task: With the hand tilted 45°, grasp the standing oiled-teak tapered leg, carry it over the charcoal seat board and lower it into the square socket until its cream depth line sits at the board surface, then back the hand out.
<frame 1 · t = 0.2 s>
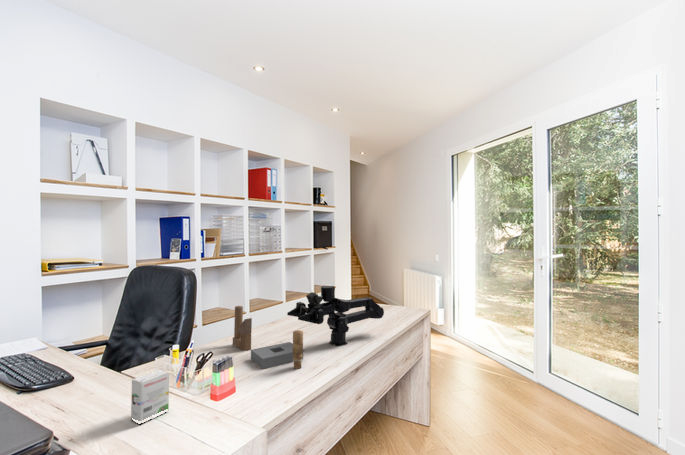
hand: (292, 316, 149), 17 cm above the table, tool horizontal, fingers open, 9 cm apart
ink box: (150, 417, 99), on the table
wooden block: (241, 347, 157), on the table
teak leg: (297, 367, 136), on the table
seat board: (277, 359, 144), on the table
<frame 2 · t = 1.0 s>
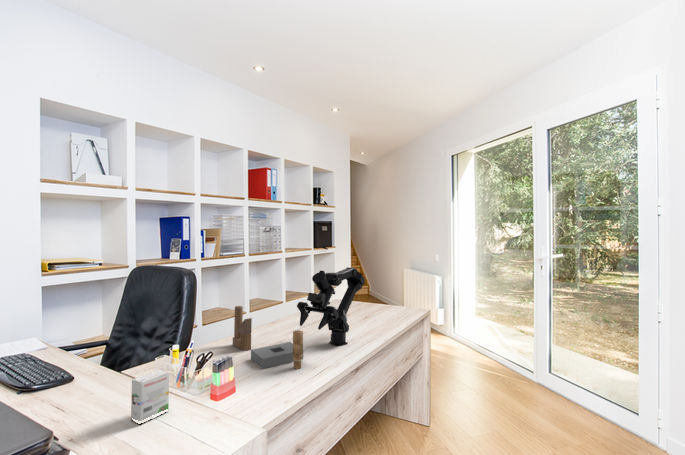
hand: (309, 327, 143), 14 cm above the table, tool tilted 45°, fingers open, 9 cm apart
nothing on the table moved.
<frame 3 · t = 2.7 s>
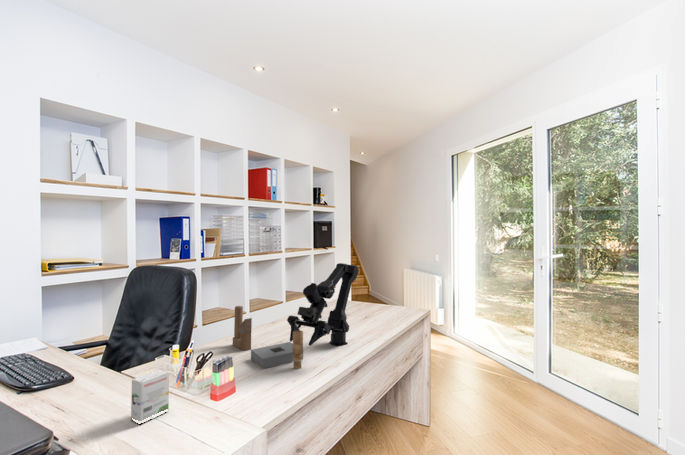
hand: (299, 343, 137), 9 cm above the table, tool tilted 45°, fingers open, 9 cm apart
nothing on the table moved.
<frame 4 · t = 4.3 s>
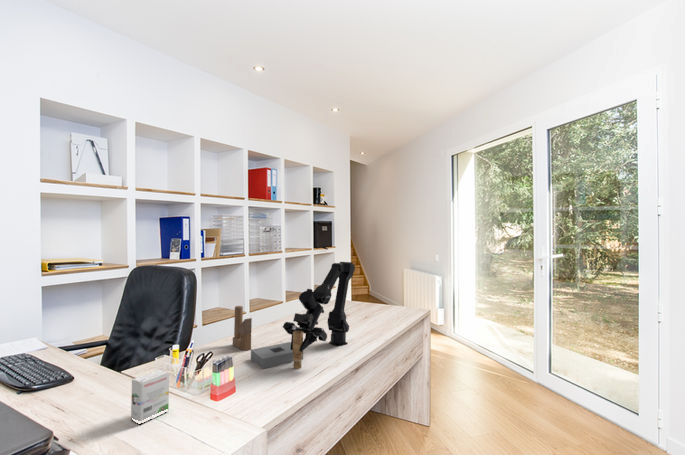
hand: (295, 350, 135), 7 cm above the table, tool tilted 45°, fingers closed on teak leg, 4 cm apart
teak leg: (297, 367, 136), on the table, touching gripper
everything else where it was.
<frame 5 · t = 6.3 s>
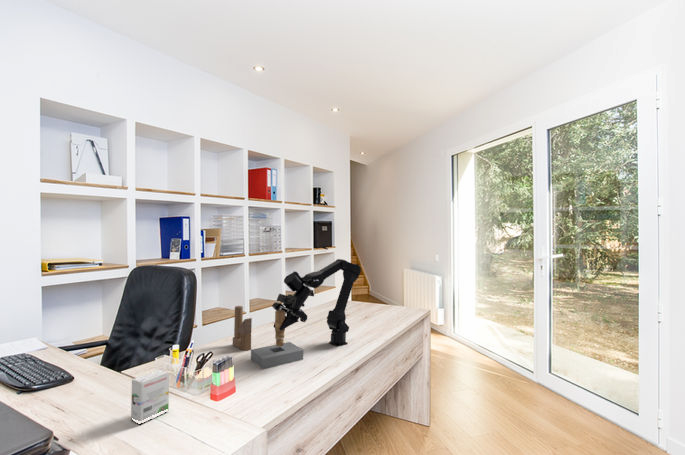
hand: (277, 328, 142), 13 cm above the table, tool tilted 45°, fingers closed on teak leg, 4 cm apart
teak leg: (279, 345, 142), point 6 cm above the table, touching gripper
everything else where it was.
when the fingers open (9 cm above the table, at t = 8.6 s): teak leg drops 1 cm, resting on seat board.
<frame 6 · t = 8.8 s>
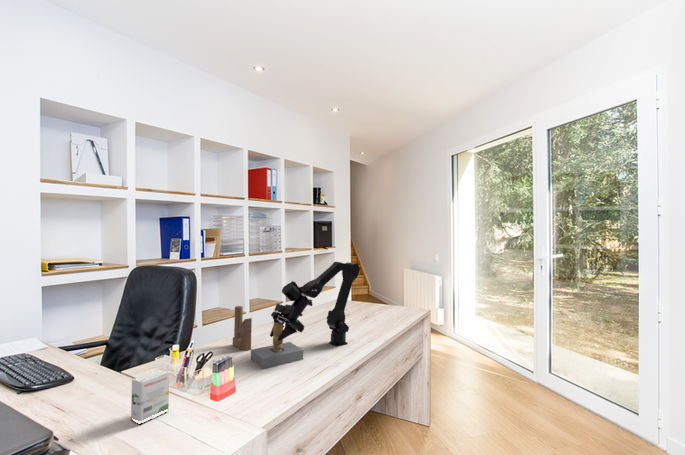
hand: (274, 338, 143), 9 cm above the table, tool tilted 45°, fingers open, 6 cm apart
teak leg: (277, 357, 144), point 1 cm above the table, touching seat board
everything else where it was.
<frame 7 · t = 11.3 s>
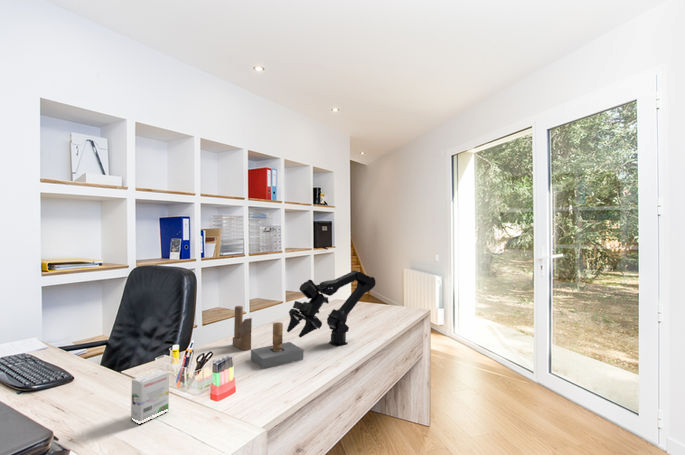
hand: (293, 334, 149), 9 cm above the table, tool tilted 45°, fingers open, 9 cm apart
nothing on the table moved.
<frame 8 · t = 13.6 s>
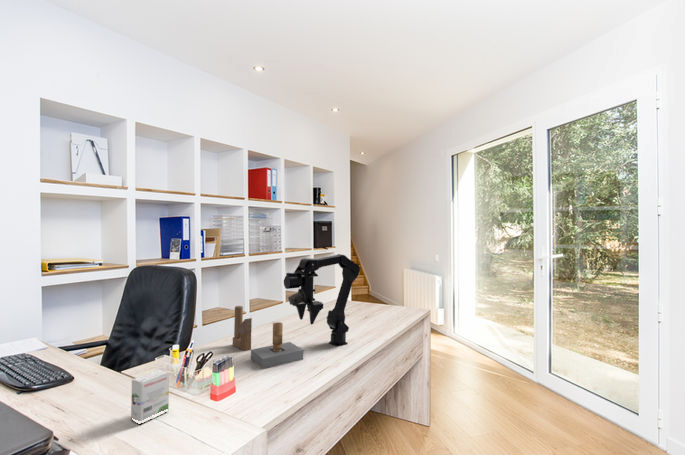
hand: (306, 321, 154), 13 cm above the table, tool pointing down, fingers open, 9 cm apart
nothing on the table moved.
at the end: teak leg 0.1 cm off-centre on the seat board, point 0.8 cm above the seat board's base; teak leg tilted 0°; the gripper is holding nothing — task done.
